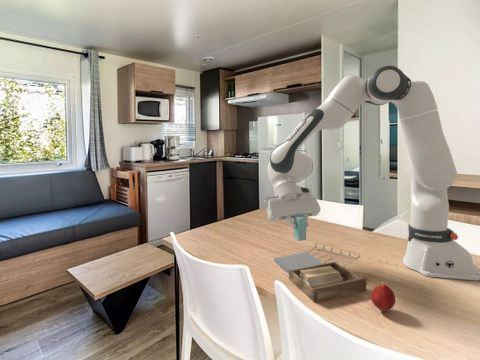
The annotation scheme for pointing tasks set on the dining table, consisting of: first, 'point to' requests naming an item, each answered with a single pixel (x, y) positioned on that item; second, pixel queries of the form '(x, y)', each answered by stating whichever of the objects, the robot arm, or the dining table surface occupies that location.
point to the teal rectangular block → (300, 228)
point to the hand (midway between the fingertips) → (300, 227)
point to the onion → (383, 297)
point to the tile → (297, 261)
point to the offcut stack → (320, 276)
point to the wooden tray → (332, 290)
